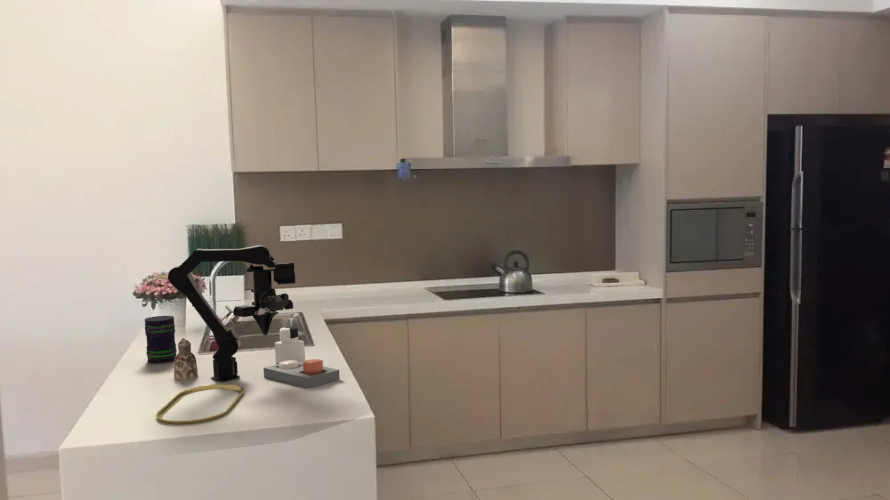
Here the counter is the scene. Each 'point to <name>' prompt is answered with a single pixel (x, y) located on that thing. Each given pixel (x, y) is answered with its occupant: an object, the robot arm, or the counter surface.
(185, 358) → the figurine
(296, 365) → the white button
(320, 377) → the grey holder tray
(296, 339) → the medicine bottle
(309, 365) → the red button
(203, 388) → the brass oval bangle
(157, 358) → the storage jar
